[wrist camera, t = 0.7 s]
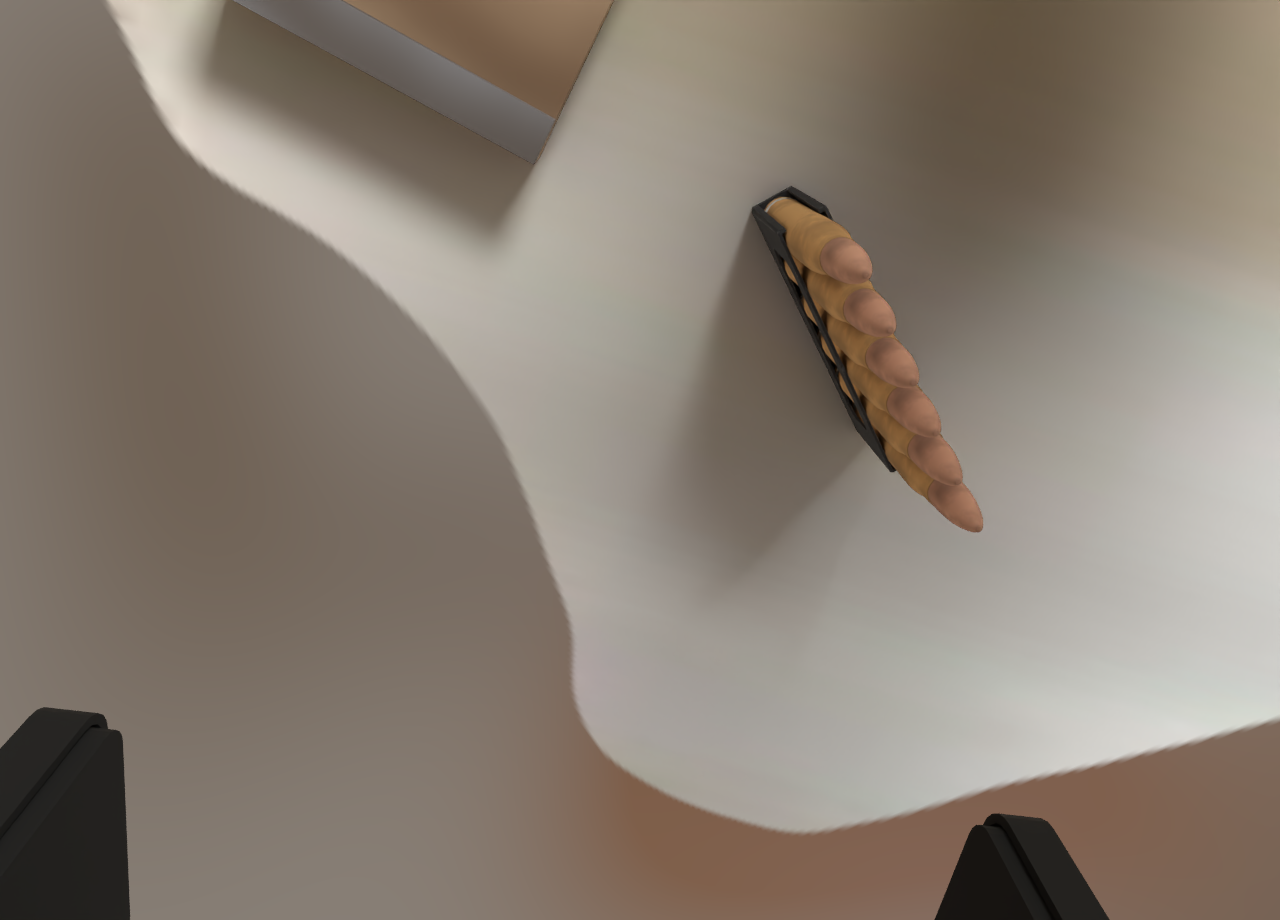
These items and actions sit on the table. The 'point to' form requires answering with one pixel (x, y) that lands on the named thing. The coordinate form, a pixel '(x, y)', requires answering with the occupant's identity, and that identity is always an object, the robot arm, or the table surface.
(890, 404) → the ammunition clip
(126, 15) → the table surface
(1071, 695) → the table surface
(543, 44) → the board
